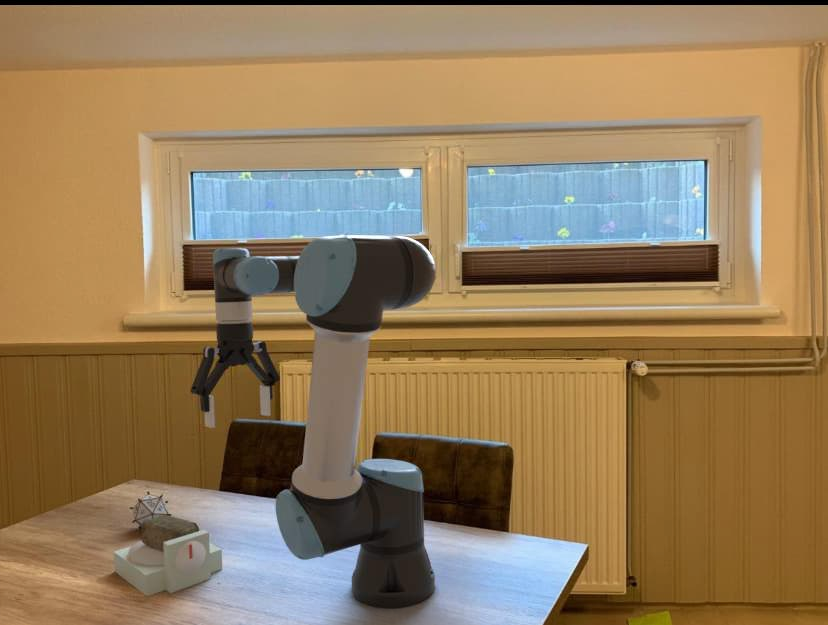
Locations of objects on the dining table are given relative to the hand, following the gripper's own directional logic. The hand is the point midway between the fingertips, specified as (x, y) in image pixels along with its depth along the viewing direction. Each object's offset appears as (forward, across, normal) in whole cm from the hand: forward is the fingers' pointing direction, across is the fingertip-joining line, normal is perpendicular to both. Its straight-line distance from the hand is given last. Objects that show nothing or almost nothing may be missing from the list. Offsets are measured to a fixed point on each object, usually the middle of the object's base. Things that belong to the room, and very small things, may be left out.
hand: (238, 420), depth 145 cm
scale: (+26, +18, +2) cm, 32 cm away
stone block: (+22, +17, +2) cm, 28 cm away
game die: (+26, +10, -23) cm, 36 cm away
